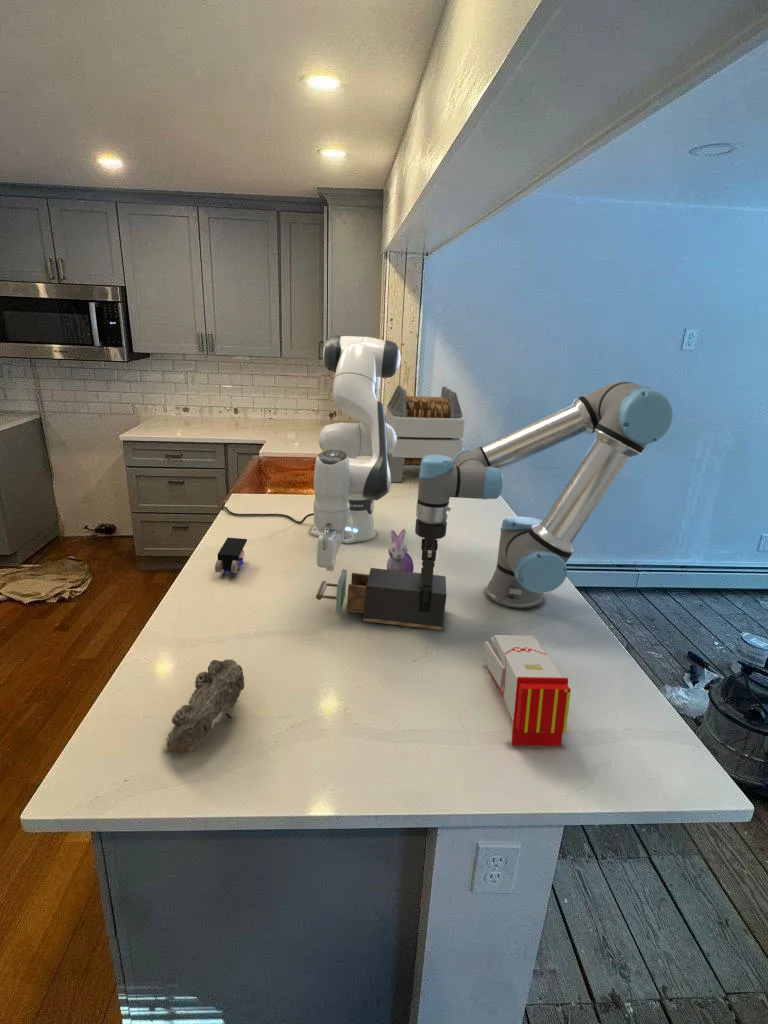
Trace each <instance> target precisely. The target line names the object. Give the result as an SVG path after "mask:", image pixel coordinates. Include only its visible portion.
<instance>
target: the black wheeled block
mask: <svg viewBox="0 0 768 1024" xmlns="http://www.w3.org/2000/svg"><path fill="white" fill-rule="evenodd" d="M247 542H248V538H240V537H226V539H225V541H224V543H223V544H222V546H221V547H220V549H219V551H218V552H217V560H216V562H215V564H214V572H215V573H221V577H222V578H224V577H225V576H226V574H227V573H230V574H231V573H232V574H231V578H234V577H235V575H236V573H237V572H239V571H240V567H242V566H243V565H244V564H245V562H244V558H245V551H244V547H245V546H246V544H247Z"/></svg>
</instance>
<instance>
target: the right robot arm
mask: <svg viewBox="0 0 768 1024" xmlns="http://www.w3.org/2000/svg"><path fill="white" fill-rule="evenodd" d="M673 413H674V411H673V408H672V404H671V402H670V400H669V399H668V398H667V396H666V395H664V394H663V393H662V392H660V391H658V390H657V389H655V388H652V387H650V386H645V385H640V384H637V383H634V382H631V381H624V380H623V381H615V382H612V383H609V384H606V385H604V386H601V387H599V388H596V389H594V390H592V391H590V392H588V393H586V394H583V395H582V396H579V397H577V398H575V399H574V400H573V403H572V404H571V405H569V406H567V407H565V408H562V409H560V410H558V411H556V412H554V413H552V414H550V415H547V416H545V417H542V418H540V419H538V420H536V421H534V422H531V423H529V424H527V425H525V426H523V427H521V428H518V429H516V430H514V431H512V432H510V433H508V434H506V435H504V436H501V437H499V438H497V439H495V440H492V441H490V442H488V443H486V444H483V445H481V446H478V447H477V448H474V449H472V450H470V449H462V451H460V452H458V453H457V454H456V455H455V456H454V457H453V460H452V459H451V458H450V457H447V456H441V455H428V456H425V457H424V458H423V459H422V461H421V466H419V474H418V490H417V499H416V500H417V501H416V510H415V511H416V512H415V517H416V519H415V529H414V532H415V535H416V536H418V537H419V538H421V542H420V543H421V544H420V547H421V548H420V550H421V571H420V573H422V585H421V586H418V589H421V591H420V603H419V612H430V605H431V594H432V589H433V587H432V582H433V575H434V568H435V562H436V559H437V551H438V548H439V545H438V540H441V539H443V538H444V537H446V535H447V527H448V522H447V520H448V516H449V515H448V514H449V512H451V510H452V509H451V507H450V506H449V504H450V498H458V499H459V498H460V499H477V500H496V499H499V498H500V496H501V495H502V492H503V487H504V486H503V485H504V476H503V475H504V474H503V472H502V470H503V469H506V468H507V467H509V466H512V465H514V464H517V463H519V462H521V461H523V460H526V459H527V458H530V457H532V456H535V455H537V454H539V453H541V452H544V451H546V450H548V449H550V448H553V447H555V446H557V445H559V444H561V443H564V442H566V441H568V440H570V439H573V438H575V437H578V436H580V435H582V434H589V435H593V434H595V440H594V441H593V443H592V445H591V446H590V448H589V449H588V450H587V452H586V454H585V456H584V457H583V458H582V460H581V462H580V463H579V465H578V466H577V467H576V469H575V470H574V472H573V474H572V475H571V477H570V478H569V480H568V481H567V483H566V484H565V486H564V488H563V489H562V491H561V492H560V493H559V495H558V497H557V498H556V500H555V501H554V503H553V504H552V506H551V507H550V509H549V511H548V512H547V513H546V515H545V517H544V518H543V519H539V518H535V517H532V516H531V517H529V516H509V517H506V518H504V519H503V520H502V522H501V527H500V536H499V545H498V552H497V562H496V567H495V570H494V572H493V575H492V577H491V579H490V580H489V582H488V585H487V589H486V594H487V596H488V597H489V599H490V600H491V601H493V602H495V603H496V604H498V605H500V606H503V607H507V608H512V609H516V610H517V609H518V610H526V609H527V610H528V609H532V608H535V607H538V606H540V605H541V604H542V602H543V598H544V593H548V592H550V593H551V592H552V591H555V590H556V589H558V588H559V587H561V585H562V584H563V583H564V582H565V580H566V578H567V575H568V567H567V562H568V561H569V560H570V558H571V556H572V555H573V554H574V547H573V542H574V540H575V538H576V537H577V536H578V534H579V533H580V532H581V530H582V528H583V527H584V525H585V524H586V523H587V521H588V519H589V518H590V517H591V515H592V513H593V512H594V511H595V510H596V507H597V506H598V505H599V504H600V502H601V501H602V499H603V498H604V496H605V495H606V493H607V492H608V490H609V489H610V487H611V486H612V484H613V483H614V481H615V480H616V478H617V477H618V475H619V474H620V472H621V471H622V470H623V468H624V466H625V465H626V464H627V462H628V461H629V459H631V458H632V457H636V456H640V455H641V454H642V452H643V451H644V450H645V448H646V447H647V445H649V444H652V443H655V442H658V441H660V440H661V439H662V438H663V437H664V436H666V434H667V433H668V431H669V429H670V428H671V425H672V422H673V415H674V414H673Z"/></svg>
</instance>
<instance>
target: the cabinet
mask: <svg viewBox="0 0 768 1024" xmlns="http://www.w3.org/2000/svg"><path fill="white" fill-rule="evenodd" d="M368 575H369V577H368V581H367V586H366V598H365V610H364V613H363V622H369V623H377V624H386V625H394V626H403V627H413V628H419V629H420V628H421V629H428V630H429V629H430V630H439V631H442V630H443V623H444V618H445V617H444V616H445V610H446V603H447V576H446V575H438V574H433V582H432V587H433V589H432V594H431V605H430V612H419V603H420V591H421V589H418V586H421V585H422V573H421V572H414V571H413V572H404V571H395V570H387V568H386V569H384V568H375V567H370V569H369V574H368Z"/></svg>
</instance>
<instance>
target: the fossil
mask: <svg viewBox="0 0 768 1024" xmlns="http://www.w3.org/2000/svg"><path fill="white" fill-rule="evenodd" d="M243 670H244V669H243V667H242V665H240V664H237V662H236V661H235V660H234V659H232V658H231V659H227V658H226V659H224V660H223V661H222V660H217V659H212V660H211V661H210V663H209V665H208V666H207V671H201V672H199V673H198V674H197V675H196V676H195V680H194V684H195V685H194V687H195V689H194V690H193V693H192V694H191V697H190V698H189V700H188V704H184V705H182V706H181V707H180V709H177V710H176V711H175V713H174V715H173V716H172V718H171V723H172V724H173V727H172V730H171V731H170V732H168V734H167V738H166V741H167V742H166V745H167V749H168V750H169V751H173V752H174V753H176V754H178V753H182V752H188V751H189V752H192V751H193V750H195V748H196V747H197V746H199V744H200V743H201V742H203V741H204V740H205V739H206V738H207V737H208V736H209V735H210V734H211V733H212V732H214V730H215V729H217V727H218V726H219V724H220V722H221V721H222V720H223V719H224V718H225V716H226V717H227V719H229V720H233V717H232V715H230V714H229V710H230V709H231V708H234V706H235V704H236V703H237V702H238V699H239V697H240V695H241V693H242V691H243V690H245V689H244V688H245V675H244V671H243Z"/></svg>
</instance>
